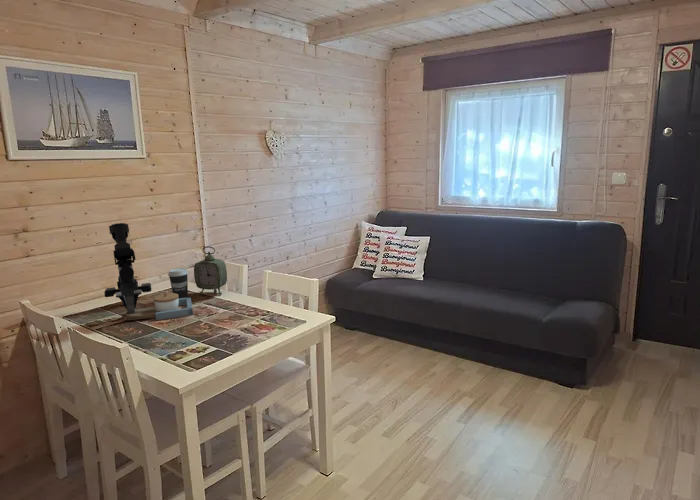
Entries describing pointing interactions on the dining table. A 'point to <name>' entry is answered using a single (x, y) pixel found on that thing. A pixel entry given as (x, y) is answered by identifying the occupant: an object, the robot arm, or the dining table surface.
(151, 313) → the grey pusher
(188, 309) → the slate frame
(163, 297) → the lidded jar
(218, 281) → the tabletop clock
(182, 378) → the dining table surface
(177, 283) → the coffee cup
